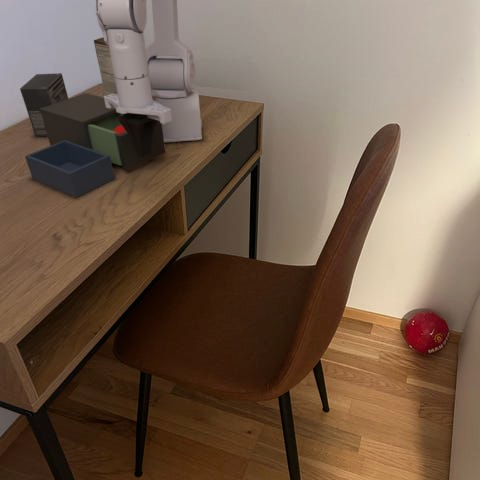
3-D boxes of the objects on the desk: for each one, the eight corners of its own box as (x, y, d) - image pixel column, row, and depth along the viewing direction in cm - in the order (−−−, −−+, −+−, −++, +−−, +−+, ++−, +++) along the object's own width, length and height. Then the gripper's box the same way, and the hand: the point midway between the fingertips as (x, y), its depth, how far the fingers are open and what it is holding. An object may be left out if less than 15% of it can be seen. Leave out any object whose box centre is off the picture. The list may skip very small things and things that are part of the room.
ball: (139, 144, 98) (134, 120, 95) (138, 153, 94) (133, 128, 91) (115, 147, 98) (109, 123, 94) (114, 156, 94) (108, 131, 91)
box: (114, 178, 91) (109, 155, 87) (76, 197, 85) (69, 173, 82) (71, 162, 97) (65, 139, 93) (32, 178, 91) (24, 155, 88)
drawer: (169, 153, 97) (165, 120, 92) (131, 172, 90) (124, 137, 86) (124, 139, 103) (118, 107, 98) (85, 156, 97) (76, 122, 92)
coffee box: (133, 102, 123) (121, 31, 112) (151, 107, 120) (141, 34, 109) (107, 113, 118) (92, 39, 107) (125, 118, 115) (111, 42, 104)
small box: (48, 120, 115) (35, 72, 108) (75, 119, 115) (63, 72, 107) (33, 137, 107) (17, 87, 100) (61, 136, 107) (48, 87, 100)
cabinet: (135, 144, 103) (128, 104, 97) (92, 164, 96) (82, 121, 90) (94, 131, 109) (85, 92, 103) (51, 149, 102) (39, 108, 96)
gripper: (84, 73, 79) (101, 152, 88) (145, 88, 73) (157, 172, 82) (115, 63, 83) (129, 140, 93) (176, 77, 77) (184, 158, 86)
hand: (144, 154), depth 88 cm, fingers closed
